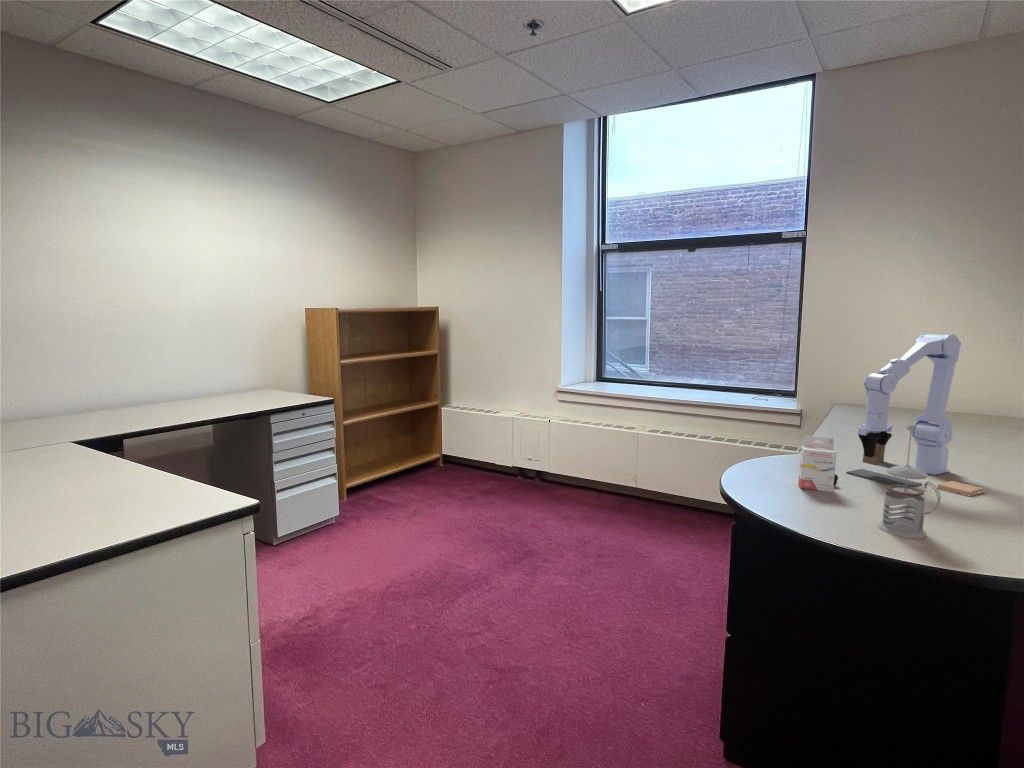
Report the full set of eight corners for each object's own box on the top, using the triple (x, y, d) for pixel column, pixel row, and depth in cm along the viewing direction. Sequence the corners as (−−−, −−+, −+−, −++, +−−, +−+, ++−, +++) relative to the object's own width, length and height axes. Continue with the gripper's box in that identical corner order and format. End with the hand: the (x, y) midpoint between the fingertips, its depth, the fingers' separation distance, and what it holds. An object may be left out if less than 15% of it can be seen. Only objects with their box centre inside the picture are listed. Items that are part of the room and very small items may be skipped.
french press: (883, 519, 145) (893, 419, 142) (940, 532, 137) (952, 426, 134) (870, 529, 139) (880, 424, 136) (930, 543, 130) (941, 432, 127)
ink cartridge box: (800, 489, 170) (804, 438, 168) (798, 484, 174) (801, 435, 173) (833, 492, 167) (838, 441, 165) (830, 487, 172) (834, 437, 170)
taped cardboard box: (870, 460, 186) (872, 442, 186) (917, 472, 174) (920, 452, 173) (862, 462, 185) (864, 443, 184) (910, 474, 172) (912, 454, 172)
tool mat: (861, 470, 191) (861, 468, 191) (921, 485, 175) (921, 483, 175) (846, 473, 187) (846, 471, 187) (906, 488, 172) (906, 486, 172)
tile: (952, 480, 176) (983, 488, 169) (951, 486, 176) (983, 493, 169) (937, 484, 172) (969, 492, 165) (937, 490, 172) (968, 497, 165)
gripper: (877, 409, 189) (873, 450, 191) (850, 412, 182) (846, 455, 184) (900, 412, 183) (896, 455, 184) (873, 415, 176) (869, 460, 177)
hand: (873, 456), depth 184 cm, fingers closed on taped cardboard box, 4 cm apart
